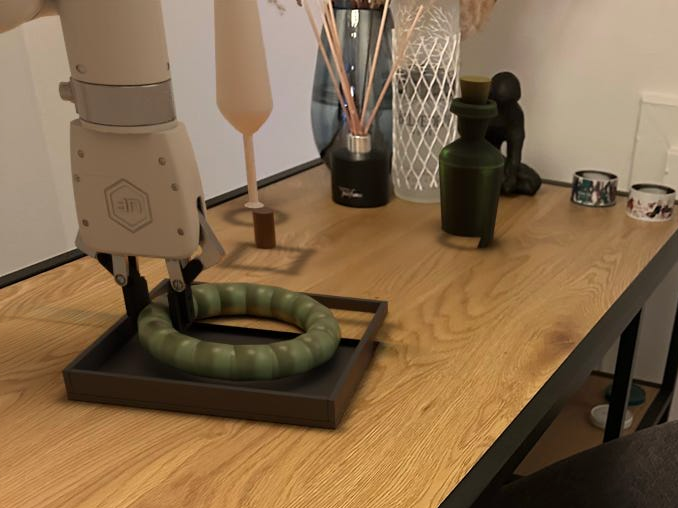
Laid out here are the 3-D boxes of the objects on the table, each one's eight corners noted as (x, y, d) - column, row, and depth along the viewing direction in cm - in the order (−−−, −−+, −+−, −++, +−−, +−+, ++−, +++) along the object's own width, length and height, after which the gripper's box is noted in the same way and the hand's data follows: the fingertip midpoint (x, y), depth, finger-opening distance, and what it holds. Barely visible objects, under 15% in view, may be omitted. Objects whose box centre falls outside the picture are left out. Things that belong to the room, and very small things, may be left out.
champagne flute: (286, 211, 124) (272, -7, 109) (273, 226, 119) (256, -1, 104) (237, 207, 124) (214, -12, 109) (221, 222, 119) (196, -6, 104)
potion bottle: (503, 235, 122) (515, 76, 111) (493, 254, 116) (504, 88, 104) (442, 227, 123) (448, 69, 111) (429, 246, 117) (433, 80, 105)
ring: (109, 370, 80) (103, 336, 78) (177, 298, 94) (174, 268, 92) (317, 398, 80) (317, 365, 78) (355, 322, 94) (355, 292, 92)
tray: (68, 399, 80) (61, 370, 78) (168, 302, 97) (164, 277, 96) (335, 429, 79) (334, 400, 77) (388, 326, 96) (388, 300, 95)
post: (222, 266, 107) (216, 217, 104) (244, 244, 113) (239, 197, 110) (291, 273, 107) (287, 224, 103) (309, 251, 113) (306, 204, 109)
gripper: (4, 103, 73) (59, 334, 85) (210, 122, 72) (236, 352, 84) (49, 86, 79) (95, 304, 90) (240, 103, 78) (261, 321, 89)
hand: (163, 325), depth 87 cm, fingers closed on ring, 3 cm apart
